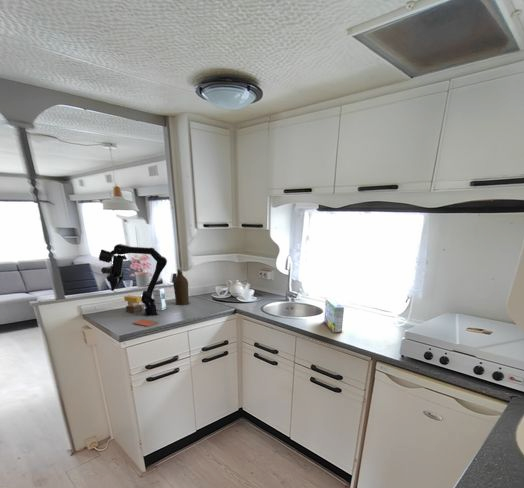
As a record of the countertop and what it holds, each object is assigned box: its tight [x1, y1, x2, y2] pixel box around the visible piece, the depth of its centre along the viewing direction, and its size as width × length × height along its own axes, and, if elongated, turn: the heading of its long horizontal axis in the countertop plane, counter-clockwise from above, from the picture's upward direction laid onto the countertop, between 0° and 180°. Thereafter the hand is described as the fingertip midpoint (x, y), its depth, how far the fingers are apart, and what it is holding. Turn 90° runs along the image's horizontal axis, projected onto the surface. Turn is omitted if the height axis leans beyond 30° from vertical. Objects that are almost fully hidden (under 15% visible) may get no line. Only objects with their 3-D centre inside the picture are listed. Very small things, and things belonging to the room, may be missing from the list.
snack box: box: [323, 298, 345, 333], centre depth 193 cm, size 21×6×15 cm, turn 5°
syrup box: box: [152, 287, 167, 311], centre depth 224 cm, size 6×6×14 cm
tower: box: [125, 301, 143, 314], centre depth 220 cm, size 7×7×7 cm
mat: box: [133, 319, 157, 327], centre depth 197 cm, size 11×8×1 cm
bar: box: [123, 294, 142, 303], centre depth 218 cm, size 11×4×3 cm, turn 64°
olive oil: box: [172, 268, 190, 306], centre depth 238 cm, size 11×11×25 cm
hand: (114, 289), depth 206 cm, fingers open, 9 cm apart
